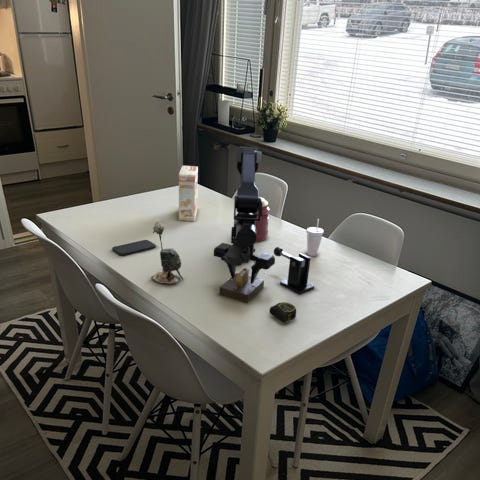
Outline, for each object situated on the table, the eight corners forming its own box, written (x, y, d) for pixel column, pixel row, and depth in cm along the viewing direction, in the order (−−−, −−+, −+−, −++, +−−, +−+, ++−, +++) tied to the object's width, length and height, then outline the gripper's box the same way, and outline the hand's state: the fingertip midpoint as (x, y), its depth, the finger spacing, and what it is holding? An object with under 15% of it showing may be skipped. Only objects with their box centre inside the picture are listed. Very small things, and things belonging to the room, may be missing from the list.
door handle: (271, 255, 171) (272, 246, 169) (278, 253, 173) (278, 244, 171) (299, 269, 163) (300, 260, 161) (305, 266, 165) (307, 257, 163)
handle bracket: (279, 284, 169) (283, 254, 164) (294, 279, 173) (298, 249, 168) (299, 295, 164) (303, 264, 158) (314, 289, 168) (318, 259, 162)
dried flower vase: (170, 290, 161) (169, 230, 151) (147, 278, 168) (145, 220, 157) (189, 282, 167) (189, 224, 156) (166, 271, 173) (165, 214, 163)
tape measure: (267, 315, 151) (268, 304, 149) (285, 310, 154) (286, 299, 153) (281, 326, 146) (283, 315, 144) (300, 320, 150) (301, 309, 148)
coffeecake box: (194, 221, 216) (195, 175, 206) (178, 220, 216) (177, 174, 206) (197, 209, 229) (198, 166, 219) (182, 208, 229) (181, 165, 219)
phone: (157, 245, 189) (121, 254, 181) (157, 247, 190) (121, 256, 181) (146, 239, 194) (110, 247, 185) (146, 241, 194) (111, 249, 186)
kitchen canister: (230, 238, 202) (232, 194, 193) (242, 228, 212) (244, 186, 203) (260, 244, 198) (264, 200, 189) (271, 234, 208) (275, 191, 199)
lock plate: (247, 303, 157) (248, 294, 155) (219, 295, 160) (219, 286, 159) (263, 288, 166) (264, 279, 165) (236, 280, 170) (236, 272, 168)
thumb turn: (240, 287, 159) (241, 275, 157) (236, 286, 160) (236, 273, 158) (248, 280, 164) (249, 268, 161) (243, 279, 164) (244, 267, 162)
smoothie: (319, 258, 190) (325, 222, 182) (302, 256, 191) (307, 220, 183) (320, 251, 195) (326, 216, 188) (304, 249, 196) (308, 214, 189)
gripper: (205, 235, 150) (204, 283, 158) (262, 249, 144) (258, 298, 152) (222, 224, 159) (221, 270, 167) (277, 237, 152) (273, 284, 160)
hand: (242, 280), depth 161 cm, fingers open, 6 cm apart
